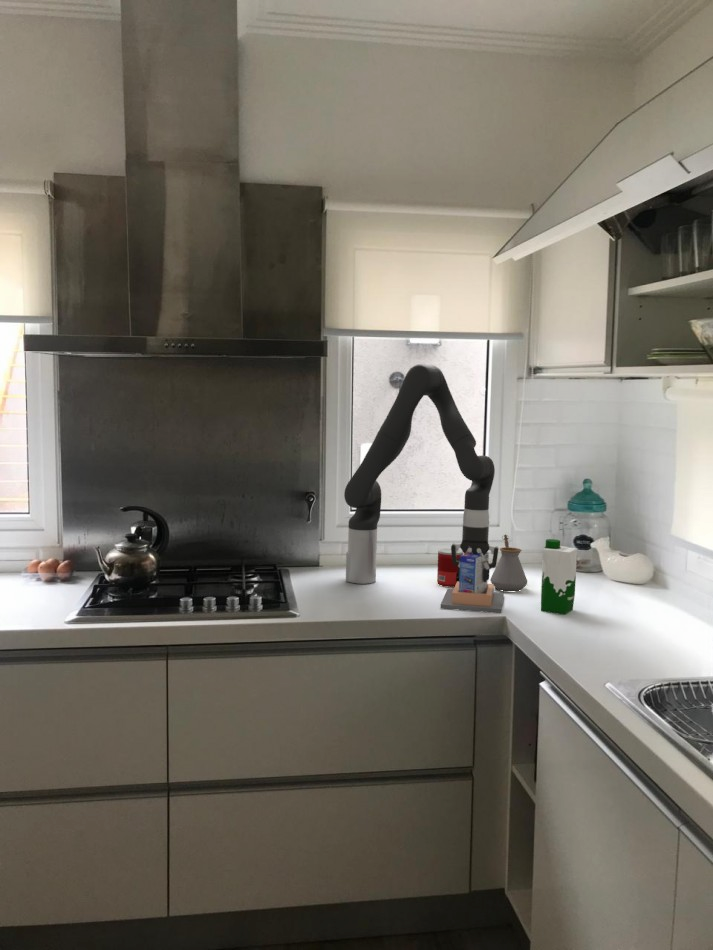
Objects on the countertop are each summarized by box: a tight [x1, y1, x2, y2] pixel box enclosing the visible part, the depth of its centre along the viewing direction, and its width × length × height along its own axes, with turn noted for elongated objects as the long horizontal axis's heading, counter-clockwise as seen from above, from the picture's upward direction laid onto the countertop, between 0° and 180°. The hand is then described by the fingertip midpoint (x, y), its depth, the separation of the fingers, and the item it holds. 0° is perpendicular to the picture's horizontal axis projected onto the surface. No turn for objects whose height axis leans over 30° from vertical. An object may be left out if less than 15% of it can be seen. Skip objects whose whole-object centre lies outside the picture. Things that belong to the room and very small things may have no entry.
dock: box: [439, 581, 505, 614], centre depth 244 cm, size 17×20×4 cm
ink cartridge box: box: [459, 546, 490, 594], centre depth 244 cm, size 10×6×14 cm, turn 149°
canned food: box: [436, 548, 464, 588], centre depth 266 cm, size 8×8×11 cm
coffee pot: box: [489, 534, 528, 592], centre depth 266 cm, size 21×12×15 cm, turn 176°
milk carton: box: [540, 538, 578, 616], centre depth 237 cm, size 9×9×20 cm
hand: (473, 580), depth 244 cm, fingers closed on ink cartridge box, 6 cm apart
